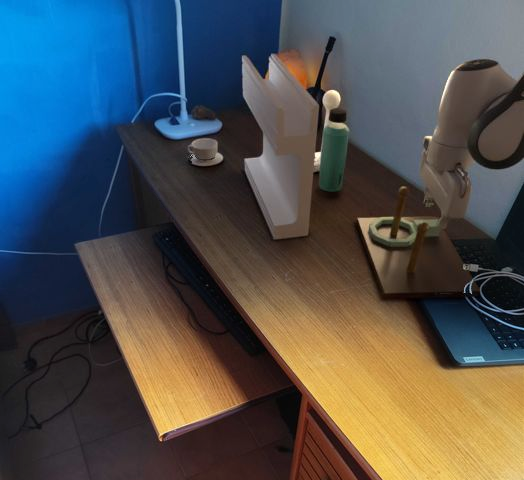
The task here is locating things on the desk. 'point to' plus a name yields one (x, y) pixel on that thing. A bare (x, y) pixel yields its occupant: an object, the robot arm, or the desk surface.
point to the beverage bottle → (334, 151)
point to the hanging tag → (404, 223)
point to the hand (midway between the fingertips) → (433, 216)
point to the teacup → (205, 152)
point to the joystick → (327, 118)
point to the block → (282, 147)
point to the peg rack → (415, 260)
